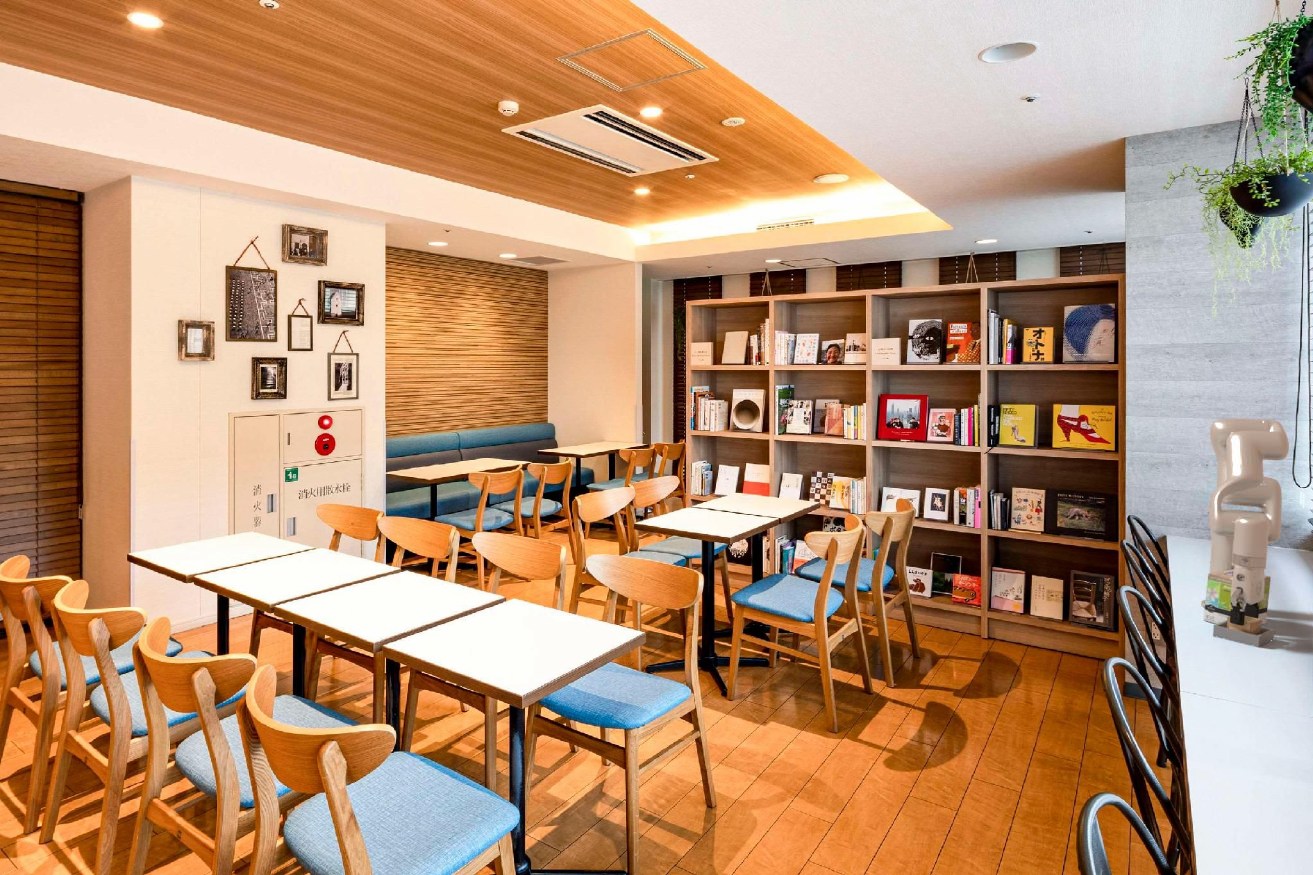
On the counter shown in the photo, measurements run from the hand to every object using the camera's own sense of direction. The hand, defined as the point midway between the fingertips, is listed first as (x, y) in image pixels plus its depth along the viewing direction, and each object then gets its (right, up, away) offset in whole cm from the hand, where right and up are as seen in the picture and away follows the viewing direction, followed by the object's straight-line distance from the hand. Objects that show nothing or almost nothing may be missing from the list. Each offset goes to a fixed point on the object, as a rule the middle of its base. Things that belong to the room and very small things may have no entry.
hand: (1244, 621), depth 213 cm
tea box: (+8, -4, +14) cm, 16 cm away
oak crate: (0, -4, 0) cm, 4 cm away
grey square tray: (0, -5, 0) cm, 5 cm away
